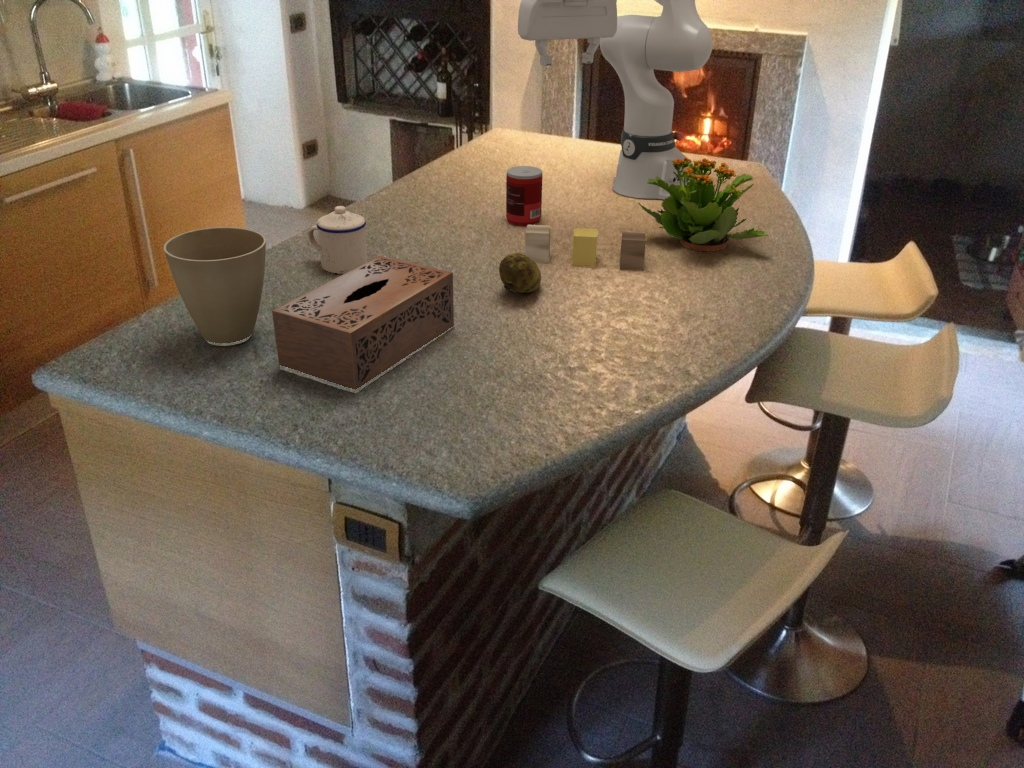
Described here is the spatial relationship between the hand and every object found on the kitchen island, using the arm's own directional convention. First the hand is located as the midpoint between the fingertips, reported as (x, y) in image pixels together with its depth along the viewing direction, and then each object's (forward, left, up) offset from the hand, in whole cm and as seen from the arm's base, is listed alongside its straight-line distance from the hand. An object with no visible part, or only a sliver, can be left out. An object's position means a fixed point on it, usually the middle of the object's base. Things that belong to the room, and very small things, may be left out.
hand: (566, 64), depth 169 cm
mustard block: (+5, +13, -35) cm, 37 cm away
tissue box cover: (+57, +20, -35) cm, 70 cm away
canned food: (-1, -13, -35) cm, 37 cm away
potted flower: (-21, +21, -35) cm, 46 cm away
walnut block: (-1, +20, -35) cm, 40 cm away
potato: (+24, +17, -35) cm, 45 cm away
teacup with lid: (+44, -14, -35) cm, 58 cm away
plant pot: (+73, +3, -35) cm, 81 cm away
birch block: (+11, +6, -35) cm, 37 cm away
